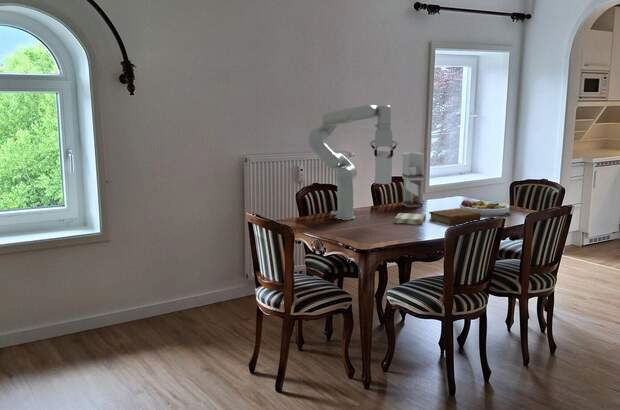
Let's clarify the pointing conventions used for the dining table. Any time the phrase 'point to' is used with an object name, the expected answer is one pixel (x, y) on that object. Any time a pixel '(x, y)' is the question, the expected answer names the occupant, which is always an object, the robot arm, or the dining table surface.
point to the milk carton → (383, 168)
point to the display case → (413, 179)
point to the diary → (454, 216)
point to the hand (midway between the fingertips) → (383, 156)
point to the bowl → (485, 207)
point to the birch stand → (410, 218)
